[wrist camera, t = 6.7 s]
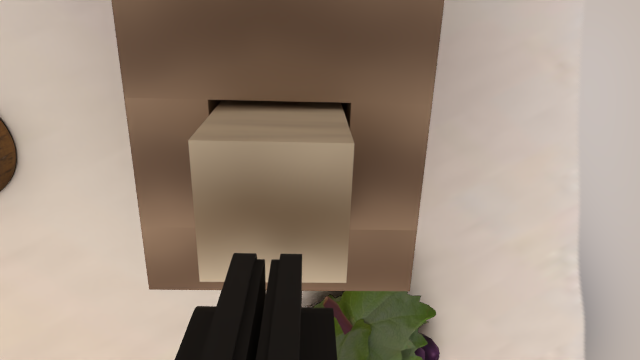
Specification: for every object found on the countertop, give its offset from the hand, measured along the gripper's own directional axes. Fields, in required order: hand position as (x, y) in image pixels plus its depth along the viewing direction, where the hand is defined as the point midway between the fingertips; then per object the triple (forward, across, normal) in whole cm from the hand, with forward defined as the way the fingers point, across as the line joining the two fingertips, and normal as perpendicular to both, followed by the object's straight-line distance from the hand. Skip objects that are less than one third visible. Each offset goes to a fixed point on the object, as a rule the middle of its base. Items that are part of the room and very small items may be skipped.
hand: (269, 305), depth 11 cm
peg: (+12, 0, -1) cm, 12 cm away
